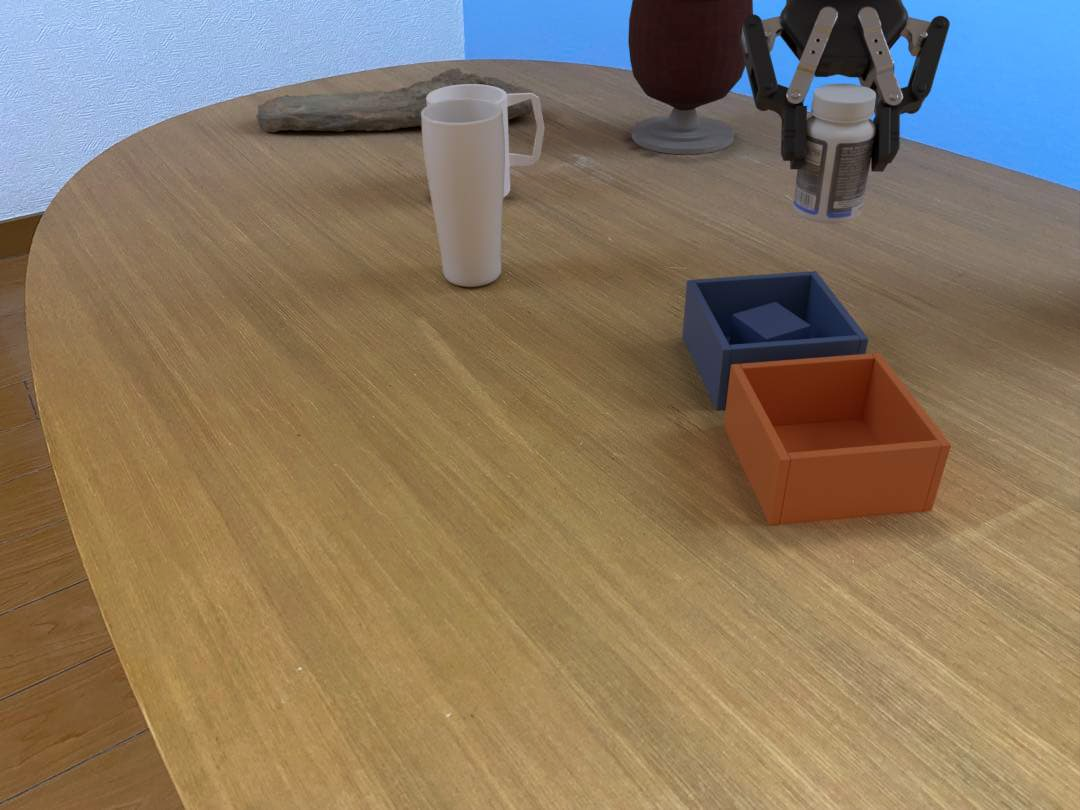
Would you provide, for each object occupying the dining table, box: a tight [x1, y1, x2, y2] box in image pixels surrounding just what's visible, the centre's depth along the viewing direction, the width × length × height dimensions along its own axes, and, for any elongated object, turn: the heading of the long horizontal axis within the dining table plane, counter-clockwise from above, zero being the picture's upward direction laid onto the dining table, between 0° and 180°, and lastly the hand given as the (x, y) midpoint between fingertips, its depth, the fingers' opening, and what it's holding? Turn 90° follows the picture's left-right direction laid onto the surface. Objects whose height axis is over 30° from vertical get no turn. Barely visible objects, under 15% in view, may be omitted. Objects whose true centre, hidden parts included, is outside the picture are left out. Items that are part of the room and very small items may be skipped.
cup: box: [426, 84, 546, 198], centre depth 98 cm, size 8×12×10 cm
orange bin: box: [723, 352, 952, 527], centre depth 60 cm, size 10×10×6 cm
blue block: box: [729, 302, 810, 345], centre depth 69 cm, size 4×4×4 cm
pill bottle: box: [792, 83, 876, 224], centre depth 64 cm, size 5×5×8 cm
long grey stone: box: [255, 67, 534, 133], centre depth 119 cm, size 35×5×10 cm
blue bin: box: [681, 270, 869, 411], centre depth 69 cm, size 10×10×6 cm
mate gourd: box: [627, 0, 754, 156], centre depth 108 cm, size 16×14×20 cm
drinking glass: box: [420, 98, 505, 288], centre depth 80 cm, size 7×7×15 cm
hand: (839, 164), depth 63 cm, fingers closed on pill bottle, 4 cm apart
